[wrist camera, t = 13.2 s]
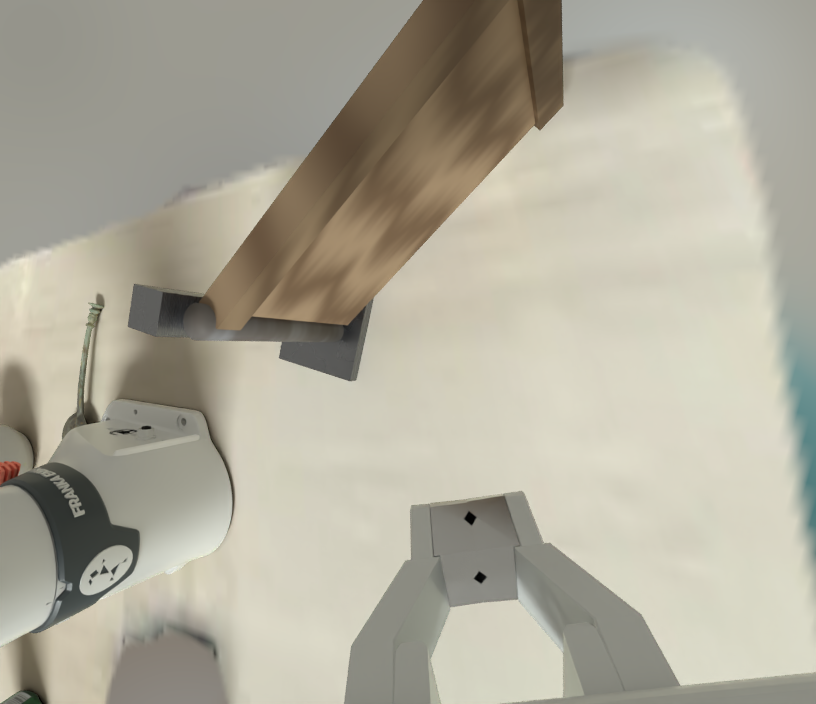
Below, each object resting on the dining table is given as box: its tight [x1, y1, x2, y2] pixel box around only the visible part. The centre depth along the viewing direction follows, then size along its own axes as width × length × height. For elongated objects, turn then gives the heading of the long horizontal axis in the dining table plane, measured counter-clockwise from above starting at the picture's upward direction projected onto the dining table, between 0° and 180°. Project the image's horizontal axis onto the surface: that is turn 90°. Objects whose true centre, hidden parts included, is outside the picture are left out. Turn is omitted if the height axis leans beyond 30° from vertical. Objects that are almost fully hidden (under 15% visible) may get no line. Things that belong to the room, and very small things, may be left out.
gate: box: [183, 0, 563, 342], centre depth 23 cm, size 24×2×13 cm, turn 133°
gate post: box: [128, 284, 374, 381], centre depth 28 cm, size 8×8×16 cm
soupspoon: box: [62, 303, 104, 439], centre depth 48 cm, size 22×3×7 cm
